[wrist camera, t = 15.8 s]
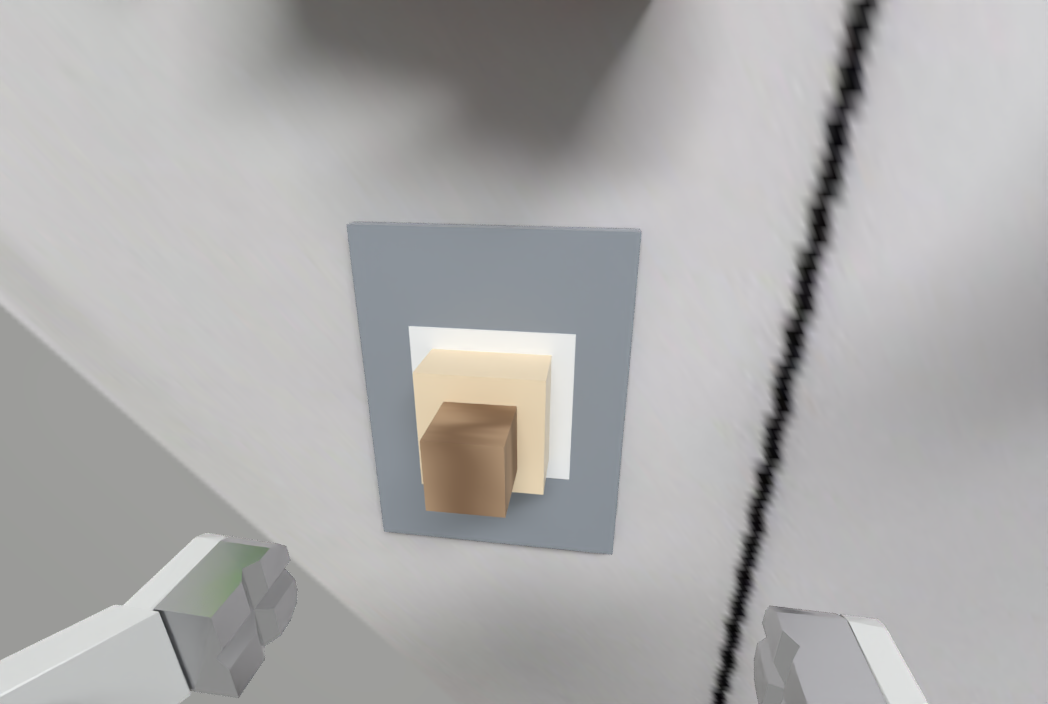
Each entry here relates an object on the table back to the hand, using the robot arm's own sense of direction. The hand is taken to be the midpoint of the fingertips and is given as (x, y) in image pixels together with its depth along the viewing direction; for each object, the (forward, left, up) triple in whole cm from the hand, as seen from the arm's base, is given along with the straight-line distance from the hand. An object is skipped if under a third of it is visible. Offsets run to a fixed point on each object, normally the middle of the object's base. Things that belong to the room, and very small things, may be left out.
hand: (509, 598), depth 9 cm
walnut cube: (+5, +10, -20) cm, 23 cm away
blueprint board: (+5, +10, -26) cm, 28 cm away
